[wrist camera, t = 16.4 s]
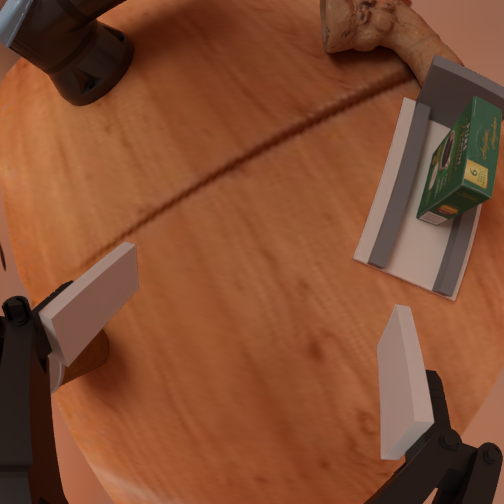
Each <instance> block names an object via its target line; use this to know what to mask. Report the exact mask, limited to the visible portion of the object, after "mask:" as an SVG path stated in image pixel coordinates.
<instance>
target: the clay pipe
mask: <svg viewBox="0 0 504 504" xmlns="http://www.w3.org/2000/svg"><path fill="white" fill-rule="evenodd" d="M320 14H321V21H322V36H323V45H324V49H325V51H326V52H327V53H336V52H341V51H345V50H349V49H353V48H354V49H355V50H357V51H371V50H373V49H374V47H377V46H378V45H380V46H383V47H387V48H390V49H392V50H393V51H395V52H396V53H397V54H398V55H399V57H400V58H401V59H402V60H403V61H404V62H406V63H407V64H408V65H409V67H410V68H411V70H412V72H413V73H414V75H415V76H416V78H417V80H418V81H419V84H420V86H421V87H422V86H423V84H424V81H425V78H426V76H427V73H428V71H429V68H430V65H431V63H432V60H433V57H434V54H436V55H439V56H441V57H443V58H446V59H448V60H450V61H453V62H455V63H457V64H459V65H461V66H464V65H463V63H462V62H461V60H460V59H459V58H458V57H457V56H456V54H455V53H454V52H452V50H451V49H449V47H448V46H447V45H445V44H444V43H443V42H442V41H441V39H440V37H439V35H438V34H436V33H435V32H434V31H433V30H432V29H431V28H430V27H429V26H428V25H427V23H426V22H425V21H424V19H423V18H422V17H421V16H420V15H418V14H417V13H416V12H415V11H414V10H413V9H411V8H409V7H407V6H405V5H403V4H402V3H400V1H399V0H320Z"/></svg>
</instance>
